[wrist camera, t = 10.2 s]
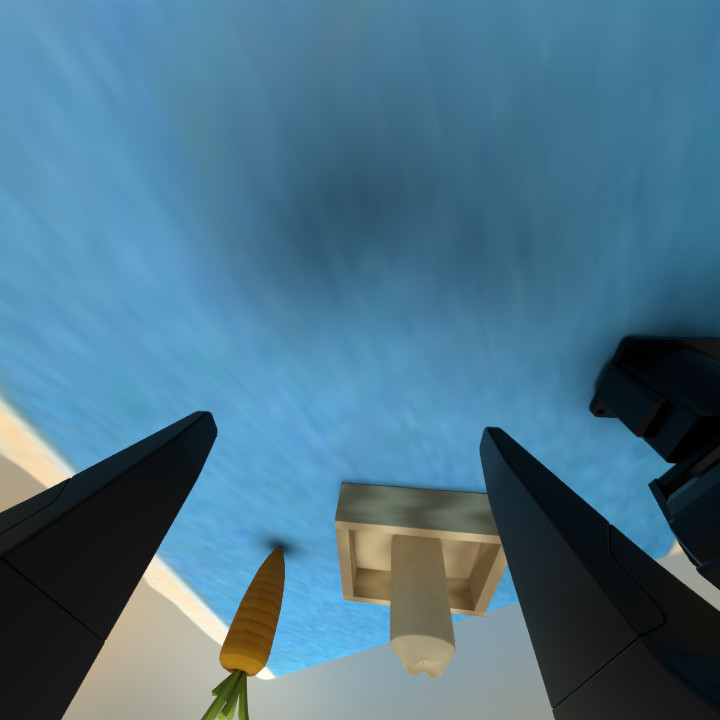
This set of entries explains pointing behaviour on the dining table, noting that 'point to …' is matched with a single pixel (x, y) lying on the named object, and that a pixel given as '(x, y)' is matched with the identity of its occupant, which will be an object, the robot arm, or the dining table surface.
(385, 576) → the box
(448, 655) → the candle
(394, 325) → the dining table surface
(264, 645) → the carrot
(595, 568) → the robot arm
